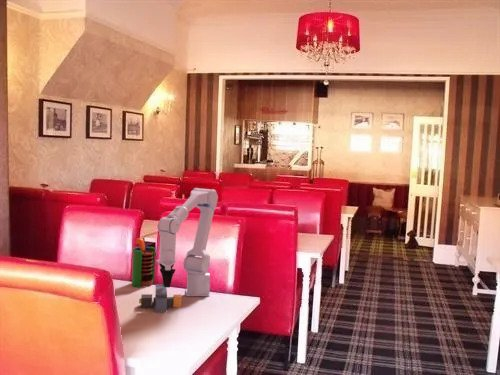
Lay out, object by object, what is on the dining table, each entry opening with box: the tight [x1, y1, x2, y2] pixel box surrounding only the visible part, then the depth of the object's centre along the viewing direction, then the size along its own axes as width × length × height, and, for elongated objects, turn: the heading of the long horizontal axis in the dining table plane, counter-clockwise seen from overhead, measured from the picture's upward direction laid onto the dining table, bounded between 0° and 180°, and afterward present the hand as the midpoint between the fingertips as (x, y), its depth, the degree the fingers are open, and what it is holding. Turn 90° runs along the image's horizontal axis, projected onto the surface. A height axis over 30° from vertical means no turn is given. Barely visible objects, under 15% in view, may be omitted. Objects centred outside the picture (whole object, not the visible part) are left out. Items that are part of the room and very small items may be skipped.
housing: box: [154, 283, 168, 313], centre depth 183 cm, size 4×14×6 cm, turn 11°
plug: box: [138, 293, 183, 309], centre depth 183 cm, size 16×4×4 cm, turn 101°
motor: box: [131, 237, 156, 288], centre depth 210 cm, size 10×9×20 cm
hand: (166, 284), depth 183 cm, fingers open, 7 cm apart
